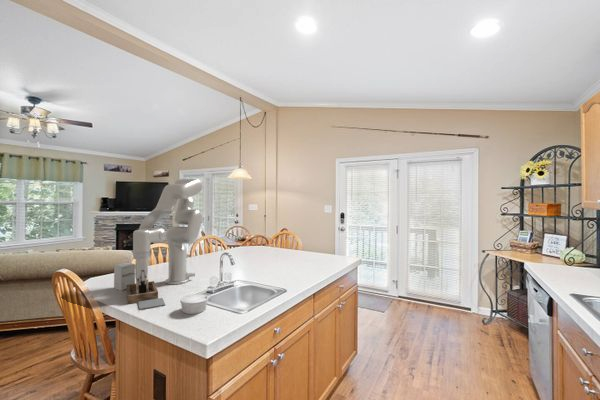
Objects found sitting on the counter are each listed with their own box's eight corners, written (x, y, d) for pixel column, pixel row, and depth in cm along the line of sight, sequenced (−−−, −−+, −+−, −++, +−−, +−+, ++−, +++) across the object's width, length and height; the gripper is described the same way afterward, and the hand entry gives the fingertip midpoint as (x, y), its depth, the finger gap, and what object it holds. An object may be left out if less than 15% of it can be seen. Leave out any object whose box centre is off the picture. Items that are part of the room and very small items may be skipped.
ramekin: (206, 314, 120) (206, 301, 120) (177, 316, 118) (177, 303, 118) (209, 304, 131) (209, 293, 131) (183, 306, 129) (183, 294, 128)
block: (147, 292, 146) (147, 276, 146) (148, 295, 142) (148, 279, 142) (136, 294, 144) (136, 278, 144) (136, 297, 139) (136, 280, 139)
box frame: (153, 287, 155) (153, 281, 155) (158, 299, 137) (158, 291, 137) (126, 291, 148) (126, 284, 148) (127, 304, 131) (127, 296, 131)
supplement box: (120, 290, 149) (120, 266, 149) (113, 288, 153) (113, 264, 153) (135, 287, 155) (135, 263, 155) (128, 284, 159) (128, 262, 159)
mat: (162, 298, 138) (162, 297, 138) (165, 305, 129) (165, 304, 129) (138, 302, 132) (138, 301, 132) (139, 310, 124) (139, 308, 124)
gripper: (132, 252, 148) (132, 287, 148) (133, 258, 133) (134, 297, 134) (149, 251, 152) (149, 285, 152) (152, 257, 137) (152, 295, 138)
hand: (142, 290), depth 143 cm, fingers closed on block, 5 cm apart
